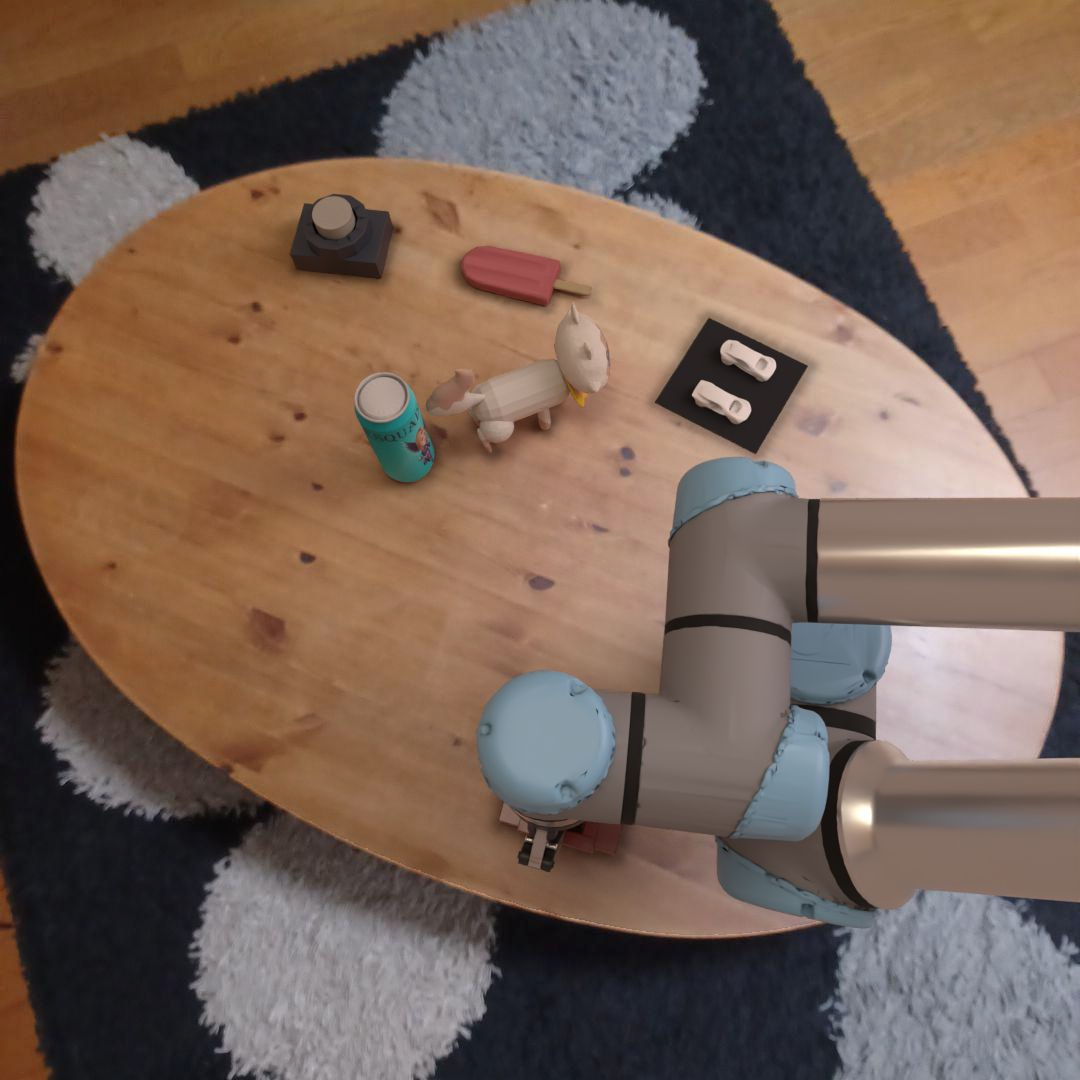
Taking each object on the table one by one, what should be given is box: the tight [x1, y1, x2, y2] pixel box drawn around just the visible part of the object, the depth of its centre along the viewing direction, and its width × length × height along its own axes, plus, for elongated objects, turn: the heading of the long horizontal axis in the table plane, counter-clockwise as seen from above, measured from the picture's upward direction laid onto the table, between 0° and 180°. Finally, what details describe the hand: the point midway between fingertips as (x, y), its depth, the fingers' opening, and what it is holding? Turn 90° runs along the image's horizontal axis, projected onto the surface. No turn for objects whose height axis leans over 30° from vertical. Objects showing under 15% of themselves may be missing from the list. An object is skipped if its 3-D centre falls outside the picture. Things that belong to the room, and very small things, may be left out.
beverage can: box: [353, 371, 436, 483], centre depth 100 cm, size 6×6×15 cm
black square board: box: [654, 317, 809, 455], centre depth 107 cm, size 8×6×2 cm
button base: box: [289, 193, 394, 279], centre depth 114 cm, size 10×7×5 cm
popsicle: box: [461, 245, 592, 307], centre depth 113 cm, size 5×2×15 cm
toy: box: [425, 301, 611, 454], centre depth 101 cm, size 9×19×15 cm, turn 112°
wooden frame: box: [497, 801, 624, 856], centre depth 92 cm, size 11×7×4 cm, turn 75°
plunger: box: [312, 196, 355, 240], centre depth 111 cm, size 4×4×2 cm
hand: (562, 801), depth 90 cm, fingers closed
